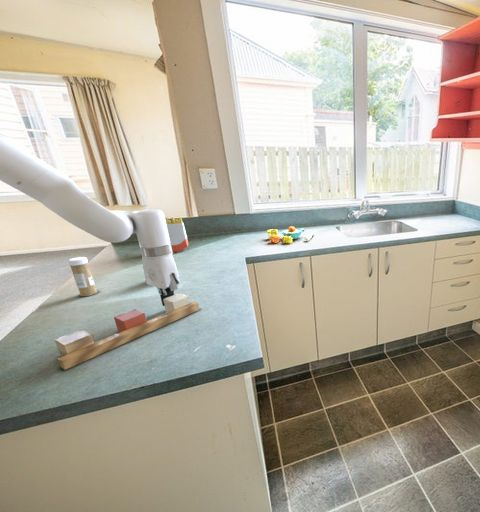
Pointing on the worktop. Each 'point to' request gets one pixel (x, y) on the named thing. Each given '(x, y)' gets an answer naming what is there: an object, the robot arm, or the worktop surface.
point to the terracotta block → (129, 320)
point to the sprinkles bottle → (82, 276)
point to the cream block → (176, 302)
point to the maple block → (73, 342)
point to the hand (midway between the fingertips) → (169, 304)
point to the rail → (125, 336)
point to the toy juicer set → (287, 235)
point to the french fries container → (177, 234)
